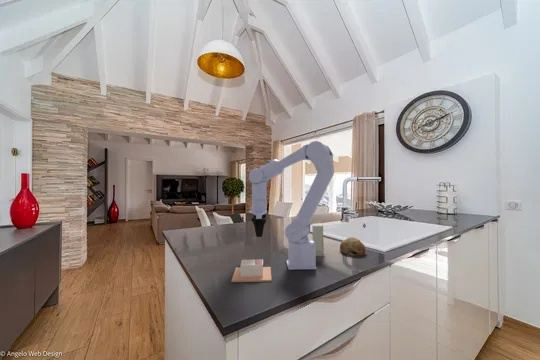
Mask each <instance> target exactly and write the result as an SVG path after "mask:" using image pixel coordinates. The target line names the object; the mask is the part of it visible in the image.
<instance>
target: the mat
mask: <svg viewBox="0 0 540 360" xmlns="http://www.w3.org/2000/svg"><path fill="white" fill-rule="evenodd" d="M258 282H260V283H261V282H262V283H263V282H267V283H268V282H272V267H271V266H263V276H253V277H241V266H240V267H236V266H235V270H234V272H233V274H232V278H231V283H258Z"/></svg>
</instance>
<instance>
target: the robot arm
mask: <svg viewBox="0 0 540 360" xmlns="http://www.w3.org/2000/svg"><path fill="white" fill-rule="evenodd" d="M301 161H310V162H312V164H313V165H314V167H315V170H316V175H315V177H314V178H313V182H312V183H311V186H310V188H309V190H308V192H307V194H306V196H305V198H304V200H303V202H302V205H301V207H300V209H299V211H298V213H297V214H296V215H295V216H294V218H293V219H292V221H291V223H289V224H288V225H286V228H285V229H284V231H285V232H284V234H285V237H286V239H287V244H288V245H287V247H288V248H287V249H288V250H287V251H288V253H287V254H288V259H287V260H286V261H285V262H286V265H287V270H317V267H316V266H317V264H316V259H317V258H316V257H317V256H316V250H315V243H314V241H313V239H312V240H311V239H309V237H308V236H309V234H310V232H311V226H312V224H313V217H314V215H315V214H316V210H317V209H318V208H319V205H320V203H321V201H322V200H323V199H322V198H323V196H324V195H325V193H326V192H327V191H326V190H327V189H328V187H329V185H330V182H331V181H332V179H333V177H334V174H335V165H334V154H333V152H332V150H331V148H330V147H329V146H328V145H326V144H324V143H322V142H321V141H318V140H313V141H311V142H310V143H308V144H304V145H303V146H301V147H300V148H299V149H297V150H295V151H294V152H291V153H290V154H288V155H286V156H285V157H284V158H282V159H280V160H278V159H270V160H269V162H268V163H266V164H264V165H260V166H259V168H252V169H251V170H250V172H249V174H248V180H249V181H250V183H251V209H252V210H249V211H248V213H249V214H252V217H251V221H252V224H253V227H254V232H255V236H256V238H262V237H263V234H264V228H265V224H266V222H267V219H268V218H267V213H268V210H267V208H268V207H267V201H268V200H267V198H268V197H267V187H268V186H267V183H268V182H269V180H271V179H273V178H275V177H278V176H279V175H281V174H283V172H284V170H285V169H286V168H288V167H290V166H293V165H295V164H297V163H299V162H301Z"/></svg>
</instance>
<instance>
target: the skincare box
mask: <svg viewBox="0 0 540 360" xmlns="http://www.w3.org/2000/svg"><path fill="white" fill-rule="evenodd" d="M311 226H312V227H311V228H312V240H313V241H314V243H315V250H316V257H324V256H325V254H324V252H325V250H324V249H325V247H324V245H325V244H324V224H323V223H311Z"/></svg>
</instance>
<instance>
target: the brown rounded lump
mask: <svg viewBox="0 0 540 360" xmlns="http://www.w3.org/2000/svg"><path fill="white" fill-rule="evenodd" d="M339 251H340V252H341V253H343V254H345V255H348V256H351V257H352V256H355V257H357V256H358V257H359V256H360V257H361V256H364V255H365V254H366V246H365V244H364V243H363V242H362V241H361V240H359V239H358V238H356V237H354V236H353V237H348V238H346V239H343V240H342V241H341V242H340V245H339Z"/></svg>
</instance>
